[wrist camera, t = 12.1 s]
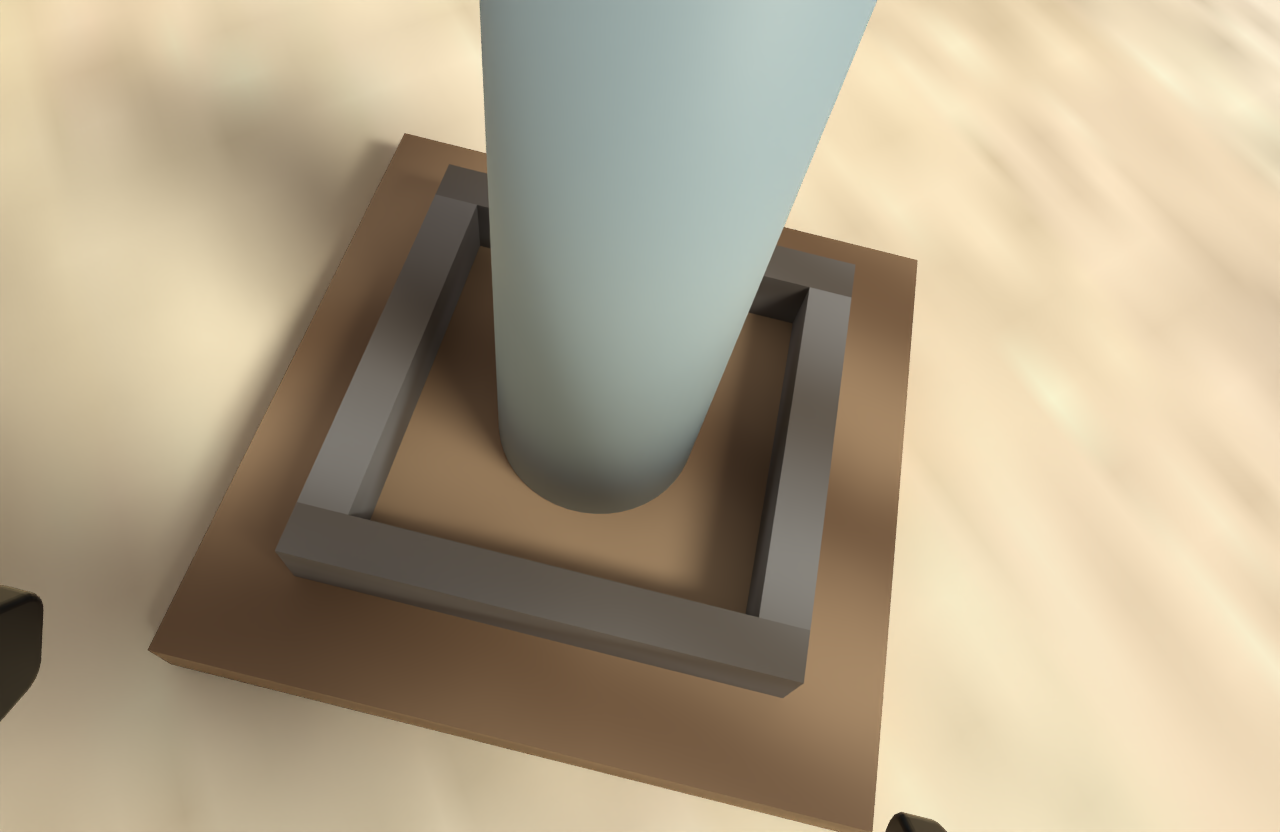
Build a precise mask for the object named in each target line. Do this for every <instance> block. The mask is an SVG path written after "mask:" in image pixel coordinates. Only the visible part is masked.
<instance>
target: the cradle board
mask: <svg viewBox="0 0 1280 832" xmlns="http://www.w3.org/2000/svg"><path fill="white" fill-rule="evenodd" d="M916 273H917V260H914V259H910V258H906V257H902V256H898V255H894V254H890V253H886V252H882V251H878V250H874V249H870V248H866V247H862V246H858V245H854V244H850V243H846V242H842V241H838V240H834V239H830V238H826V237H822V236H817V235H813V234H809V233H805V232H801V231H797V230H793V229H789V228H785V227H783V230H782V232H781V235H780V237H779V240H778V242H777V244H776V247H775V249H774V252H773V254H772V257H771V259H770V261H769V264H768V266H767V269H766V271H765V273H764V276H763V278H762V281H761V283H760V286H759V288H758V290H757V293H756V295H755V298H754V300H753V303H752V305H751V307H750V310H749V312H748V315H747V317H746V320H745V322H744V324H743V327H742V329H741V332H740V334H739V337H738V339H737V341H736V344H735V346H734V349H733V351H732V354H731V356H730V358H729V361H728V363H727V366H726V368H725V371H724V373H723V375H722V378H721V380H720V383H719V385H718V387H717V390H716V392H715V395H714V397H713V400H712V402H711V404H710V407H709V409H708V412H707V414H706V417H705V419H704V421H703V424H702V426H701V429H700V431H699V434H698V436H697V438H696V441H695V443H694V446H693V448H692V451H691V453H690V455H689V458H688V460H687V462H686V464H685V466H684V468H683V470H682V472H681V473H680V475H679V476H678V477H677V479H676V480H675V481H674V482H673V483H672V484H671V485H670V486H669V487H668V488H667V490H665V491H664V492H663V493H661V494H660V495H659V496H658V497H656V498H654V499H653V500H651V501H649V502H648V503H646V504H643V505H641V506H639V507H636V508H634V509H630V510H626V511H623V512H617V513H610V514H591V513H582V512H578V511H573V510H569V509H566V508H563V507H561V506H558V505H555V504H553V503H552V502H550V501H548V500H546V499H544V498H542V497H541V496H540V495H538V494H537V493H535V492H534V491H533V490H531V489H530V488H529V487H528V486H527V485H526V484H525V483H524V482H523V481H522V480H521V479H520V478H519V476H518V475H517V474H516V473H515V471H514V470H513V468H512V467H511V465H510V463H509V462H508V460H507V457H506V455H505V453H504V450H503V447H502V444H501V440H500V433H499V421H498V399H497V376H496V354H495V332H494V310H493V288H492V265H491V243H490V221H489V199H488V177H487V155H486V153H482V152H478V151H474V150H470V149H466V148H462V147H458V146H454V145H450V144H446V143H442V142H438V141H434V140H430V139H426V138H422V137H418V136H414V135H410V134H406V133H405V134H404V136H403V138H402V140H401V142H400V144H399V146H398V148H397V150H396V152H395V154H394V156H393V158H392V160H391V162H390V164H389V166H388V168H387V170H386V172H385V174H384V176H383V178H382V180H381V182H380V184H379V186H378V188H377V190H376V192H375V194H374V196H373V198H372V200H371V202H370V204H369V206H368V208H367V210H366V212H365V214H364V216H363V218H362V220H361V222H360V224H359V226H358V228H357V230H356V232H355V234H354V236H353V238H352V240H351V242H350V244H349V246H348V248H347V250H346V252H345V254H344V256H343V258H342V260H341V262H340V264H339V266H338V268H337V271H336V273H335V275H334V277H333V279H332V281H331V283H330V285H329V287H328V289H327V291H326V293H325V295H324V297H323V299H322V301H321V303H320V305H319V307H318V309H317V311H316V313H315V315H314V317H313V319H312V321H311V323H310V325H309V327H308V329H307V331H306V333H305V335H304V337H303V339H302V341H301V343H300V345H299V347H298V349H297V351H296V353H295V355H294V357H293V359H292V361H291V363H290V365H289V367H288V369H287V371H286V373H285V375H284V377H283V379H282V381H281V383H280V385H279V387H278V389H277V391H276V393H275V395H274V397H273V399H272V401H271V403H270V405H269V407H268V409H267V411H266V413H265V415H264V417H263V419H262V421H261V423H260V425H259V427H258V429H257V431H256V433H255V435H254V437H253V439H252V441H251V443H250V445H249V447H248V449H247V451H246V453H245V455H244V457H243V459H242V461H241V463H240V465H239V467H238V470H237V472H236V474H235V476H234V478H233V480H232V482H231V484H230V486H229V488H228V490H227V492H226V494H225V496H224V498H223V500H222V502H221V504H220V506H219V508H218V510H217V512H216V514H215V516H214V518H213V520H212V522H211V524H210V526H209V528H208V530H207V532H206V534H205V536H204V538H203V540H202V542H201V544H200V546H199V548H198V550H197V552H196V554H195V556H194V558H193V560H192V562H191V564H190V566H189V568H188V570H187V572H186V574H185V576H184V578H183V580H182V582H181V584H180V586H179V588H178V590H177V592H176V594H175V596H174V598H173V600H172V602H171V604H170V606H169V608H168V610H167V612H166V614H165V616H164V618H163V620H162V622H161V624H160V626H159V628H158V630H157V632H156V634H155V636H154V638H153V640H152V642H151V644H150V646H149V648H148V650H149V651H150V652H152V653H154V654H155V655H157V656H158V657H160V658H162V659H163V660H165V661H167V662H168V663H170V664H173V665H177V666H181V667H185V668H189V669H193V670H197V671H201V672H205V673H209V674H213V675H217V676H221V677H225V678H229V679H233V680H237V681H241V682H245V683H249V684H253V685H257V686H261V687H265V688H269V689H273V690H277V691H280V692H284V693H288V694H292V695H296V696H300V697H304V698H308V699H312V700H316V701H320V702H324V703H328V704H332V705H336V706H340V707H344V708H348V709H352V710H356V711H360V712H364V713H368V714H372V715H376V716H380V717H384V718H388V719H392V720H396V721H400V722H404V723H408V724H412V725H416V726H420V727H424V728H428V729H432V730H436V731H440V732H444V733H448V734H452V735H456V736H460V737H464V738H468V739H472V740H475V741H479V742H483V743H487V744H491V745H495V746H499V747H503V748H507V749H511V750H515V751H519V752H523V753H527V754H531V755H535V756H539V757H543V758H547V759H551V760H555V761H559V762H563V763H567V764H571V765H575V766H579V767H583V768H587V769H591V770H595V771H599V772H603V773H607V774H611V775H615V776H619V777H623V778H627V779H631V780H635V781H639V782H643V783H647V784H651V785H655V786H659V787H663V788H666V789H670V790H674V791H678V792H682V793H686V794H690V795H694V796H698V797H702V798H706V799H710V800H714V801H718V802H722V803H726V804H730V805H734V806H738V807H742V808H746V809H750V810H754V811H758V812H762V813H766V814H770V815H774V816H778V817H782V818H786V819H790V820H794V821H798V822H802V823H806V824H810V825H814V826H818V827H822V828H826V829H830V830H834V831H838V832H872V830H873V818H874V805H875V792H876V780H877V767H878V754H879V742H880V729H881V716H882V704H883V691H884V678H885V665H886V653H887V640H888V627H889V615H890V602H891V589H892V577H893V564H894V551H895V539H896V526H897V513H898V501H899V488H900V475H901V463H902V450H903V437H904V425H905V412H906V399H907V387H908V374H909V361H910V349H911V336H912V323H913V311H914V298H915V285H916Z"/></svg>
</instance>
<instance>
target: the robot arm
mask: <svg viewBox="0 0 1280 832" xmlns="http://www.w3.org/2000/svg"><path fill="white" fill-rule="evenodd" d="M42 628H43V603H42V601H41V599H40V597H39V596H37V595H36V594H35V593H32V592H28V591H24V590H20V589H16V588H12V587H8V586H4V585H0V721H1V720H2V719H3V718H4V717H5V716H6V714H7V713H8V712H9V711H10V710H11V709H12V708H13V706H14V705H15V704H16V703H17V702H18V701H19V700H20V698H21V697H22V696H23V695H24V694H25V693H26V692H27V690H28V689H29V688H30V686H31V685H32V683H33V682H34V680H35V678H36V676H37V674H38V671H39V668H40V663H41V649H42ZM886 832H947V831H946V830H945V829H944V828H943V827H942V826H941V825H940V824H939V823H938V822H936V821H934V820H932V819H928V818H924V817H920V816H916V815H912V814H908V813H904V812H900V813H897V814H895V815H894V816H893V817H892V819H891V820H890V822H889V824H888V827H887V829H886Z"/></svg>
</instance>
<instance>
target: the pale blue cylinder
mask: <svg viewBox="0 0 1280 832" xmlns="http://www.w3.org/2000/svg"><path fill="white" fill-rule="evenodd" d="M876 2H877V0H480V22H481V44H482V66H483V88H484V110H485V132H486V155H487V177H488V199H489V221H490V243H491V265H492V288H493V310H494V332H495V354H496V376H497V399H498V421H499V433H500V440H501V444H502V447H503V450H504V453H505V455H506V457H507V460H508V462H509V463H510V465H511V467H512V468H513V470H514V471H515V473H516V474H517V475H518V476H519V478H520V479H521V480H522V481H523V482H524V483H525V484H526V485H527V486H528V487H529V488H530V489H531V490H533V491H534V492H535V493H537V494H538V495H540V496H541V497H542V498H544V499H546V500H548V501H550V502H552V503H553V504H555V505H558V506H561V507H563V508H566V509H569V510H573V511H578V512H582V513H591V514H610V513H617V512H623V511H626V510H630V509H634V508H636V507H639V506H641V505H643V504H646V503H648V502H649V501H651V500H653V499H654V498H656V497H658V496H659V495H660V494H661V493H663V492H664V491H665V490H667V488H668V487H669V486H670V485H671V484H672V483H673V482H674V481H675V480H676V479H677V477H678V476H679V475H680V473H681V472H682V470H683V468H684V466H685V464H686V462H687V460H688V458H689V455H690V453H691V451H692V448H693V446H694V443H695V441H696V438H697V436H698V434H699V431H700V429H701V426H702V424H703V421H704V419H705V417H706V414H707V412H708V409H709V407H710V404H711V402H712V400H713V397H714V395H715V392H716V390H717V387H718V385H719V383H720V380H721V378H722V375H723V373H724V371H725V368H726V366H727V363H728V361H729V358H730V356H731V354H732V351H733V349H734V346H735V344H736V341H737V339H738V337H739V334H740V332H741V329H742V327H743V324H744V322H745V320H746V317H747V315H748V312H749V310H750V307H751V305H752V303H753V300H754V298H755V295H756V293H757V290H758V288H759V286H760V283H761V281H762V278H763V276H764V273H765V271H766V269H767V266H768V264H769V261H770V259H771V257H772V254H773V252H774V249H775V247H776V244H777V242H778V240H779V237H780V235H781V232H782V230H783V227H784V225H785V223H786V220H787V218H788V215H789V213H790V210H791V208H792V206H793V203H794V201H795V198H796V196H797V193H798V191H799V189H800V186H801V184H802V181H803V179H804V176H805V174H806V172H807V169H808V167H809V164H810V162H811V159H812V157H813V155H814V152H815V150H816V147H817V145H818V143H819V140H820V138H821V135H822V133H823V130H824V128H825V126H826V123H827V121H828V118H829V116H830V113H831V111H832V109H833V106H834V104H835V101H836V99H837V96H838V94H839V92H840V89H841V87H842V84H843V82H844V79H845V77H846V75H847V72H848V70H849V67H850V65H851V62H852V60H853V58H854V55H855V53H856V50H857V48H858V45H859V43H860V41H861V38H862V36H863V33H864V31H865V29H866V26H867V24H868V21H869V19H870V16H871V14H872V12H873V9H874V7H875V4H876Z"/></svg>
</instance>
